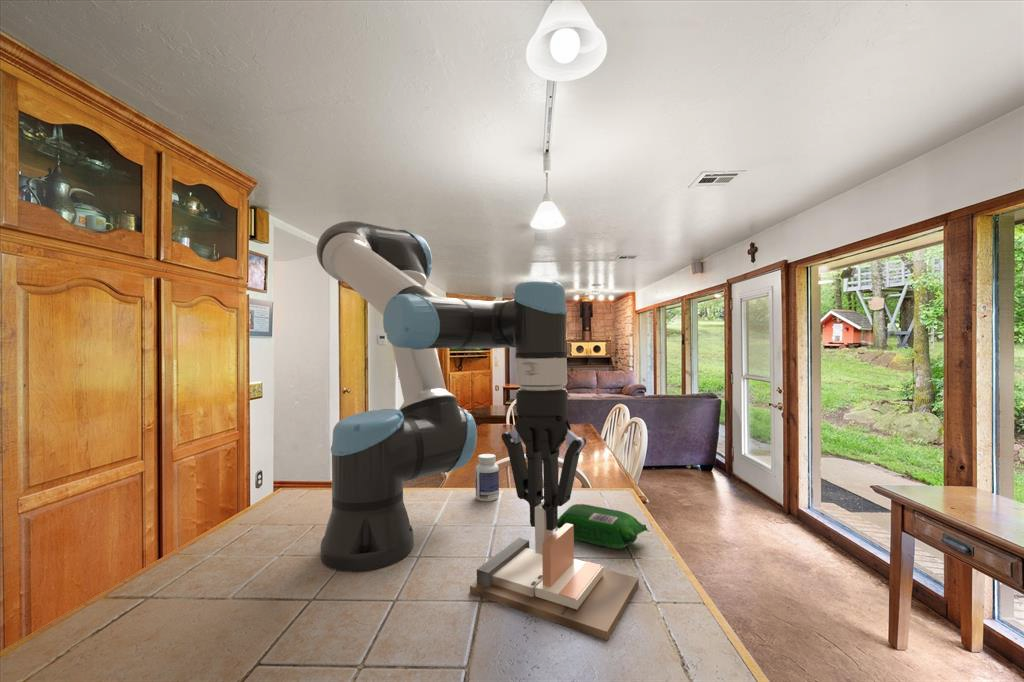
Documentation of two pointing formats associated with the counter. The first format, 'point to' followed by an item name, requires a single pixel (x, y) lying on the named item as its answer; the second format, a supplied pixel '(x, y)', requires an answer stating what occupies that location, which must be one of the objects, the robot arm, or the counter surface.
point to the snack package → (602, 525)
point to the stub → (565, 571)
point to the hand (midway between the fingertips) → (544, 550)
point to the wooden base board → (515, 584)
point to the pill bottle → (487, 478)
